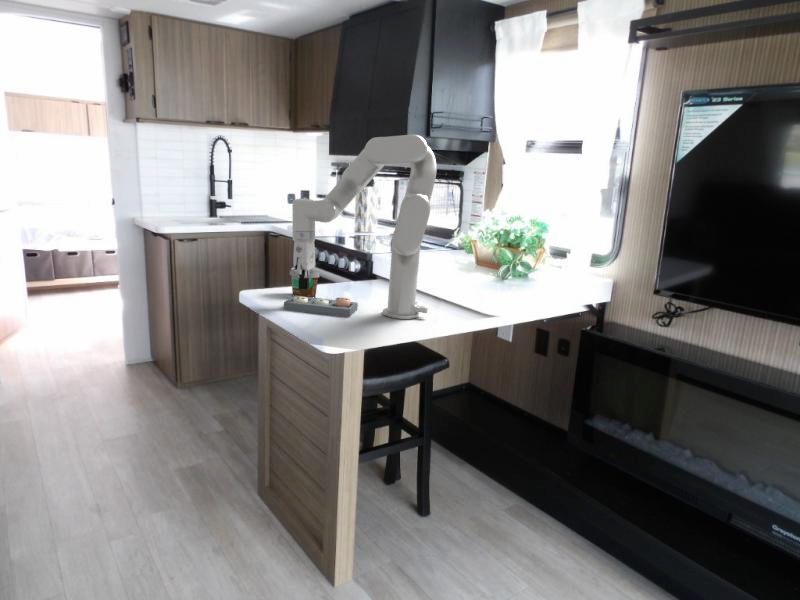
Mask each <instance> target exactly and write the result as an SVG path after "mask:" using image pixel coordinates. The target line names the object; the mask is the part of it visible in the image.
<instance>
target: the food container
mask: <svg viewBox="0 0 800 600" xmlns="http://www.w3.org/2000/svg"><path fill="white" fill-rule="evenodd" d="M289 276H291V289H292V296H293V295H294V296H295V295H296V296H304V297H314V298H316V295H317V287H318V279H319V278H320V273H319V271H312V272H311V271H309V277H307V278H309V289H307V290H302V289H299V278H298V274H297V270H295V269H294V266H293V267H291V269H290V270H289Z"/></svg>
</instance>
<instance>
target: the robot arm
mask: <svg viewBox="0 0 800 600" xmlns="http://www.w3.org/2000/svg"><path fill="white" fill-rule="evenodd" d="M396 164H397V165H398V164H410V175H409V178H408V181H407V182H408V183H407V187H406V191H405V193H404V197H403V198H402V200H401V203H400V208H399V212H398V216H397V219H396V223H395V228H394V231H393V233H392V236H391V237H392V239H391V253H390V254H391V255H390V270H389V280H388V282H389V283H388V284H389V285H388V295H387V297H388V298H387V307H385V308H384V309H382V315H384V316H386V317H389V318H393V319H398V320H399V319H400V320H413V319H417V318H418V317H419V315H420V313H422V314H428V310H429V309H428V307H425V306H422V305H419V304H418V302H417V301H416V299H417V286H418V285H417V283H418V273H419V265H420V250H421V247H422V243H423V240H424V236H425V232H426V228H427V225H428V221H429V219H430V213H431V199H432V194H433V191H434V186H435V182H436V177H437V169H438V168H437V167H438V165H437V161H436V157H435V154H434V152H433V151H432V149H431V147H430V146H429V145H428V144H427V141H426V140H425V139H424V137H423V136H421V135H419V134H405V135H391V136H379V137H378V136H377V137H372V138H371V139H369V140H368V141H367V143H366V144H365V146H364V148H363V149H362V150H361V151H360V153H359V154H358V155H357V156H356V157H355V159H354V160H352V162H351V163H350V164H349V165H348V166H347V167H346V168H345V169H344V170H343V172H342V175H341V177H340V179H339V180H338V182H337V183H336V185H334V187H333V188H332V189H331V190H330V191H329V192H328V194H327V195H326V196H325V197H324V198H323V199H320V200H313V199H310V198H295V199H294V200H293V201H292V241H294V243H293V255H292V257H293V258H292V259H293V262H292V263H293V267H294V269H295V270H297V274H298V278H299V289H302V290H307V289H309V278H307V277H309V272H310V271H311V269H313V268H315V267H316V248H315V246H316V245H315V241H316V222H320V223H325V224H326V223H330V222H333V221H334V220H335V219H337V218H338V217H339V216H340V214H341V213H342V212H343V211H344V210H345V208H347V207H348V206H349V204H351V202H352V201H353V200H354V199H355V198H356V197H357V196H358V195H359V194H361V192H362V191H363V190H364V189H365V188H366V187H367V185H369V184H370V182H371V181H372V180H373V179H374V178H375V176H377V174H378V173H379V172H380V171H381V170H382V169H383V168H384V166H385V165H396Z"/></svg>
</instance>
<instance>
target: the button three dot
mask: <svg viewBox="0 0 800 600" xmlns="http://www.w3.org/2000/svg"><path fill="white" fill-rule="evenodd" d="M335 300H336V301H335V306H339V307H347V308H349V307H350V302H351V298H348V297H342V296H340V297H336V298H335Z"/></svg>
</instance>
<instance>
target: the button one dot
mask: <svg viewBox="0 0 800 600" xmlns="http://www.w3.org/2000/svg"><path fill="white" fill-rule="evenodd" d="M325 299H326V298H322V299H316V300H314V304H321V305H328V304H329V301H328V300H325Z"/></svg>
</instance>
